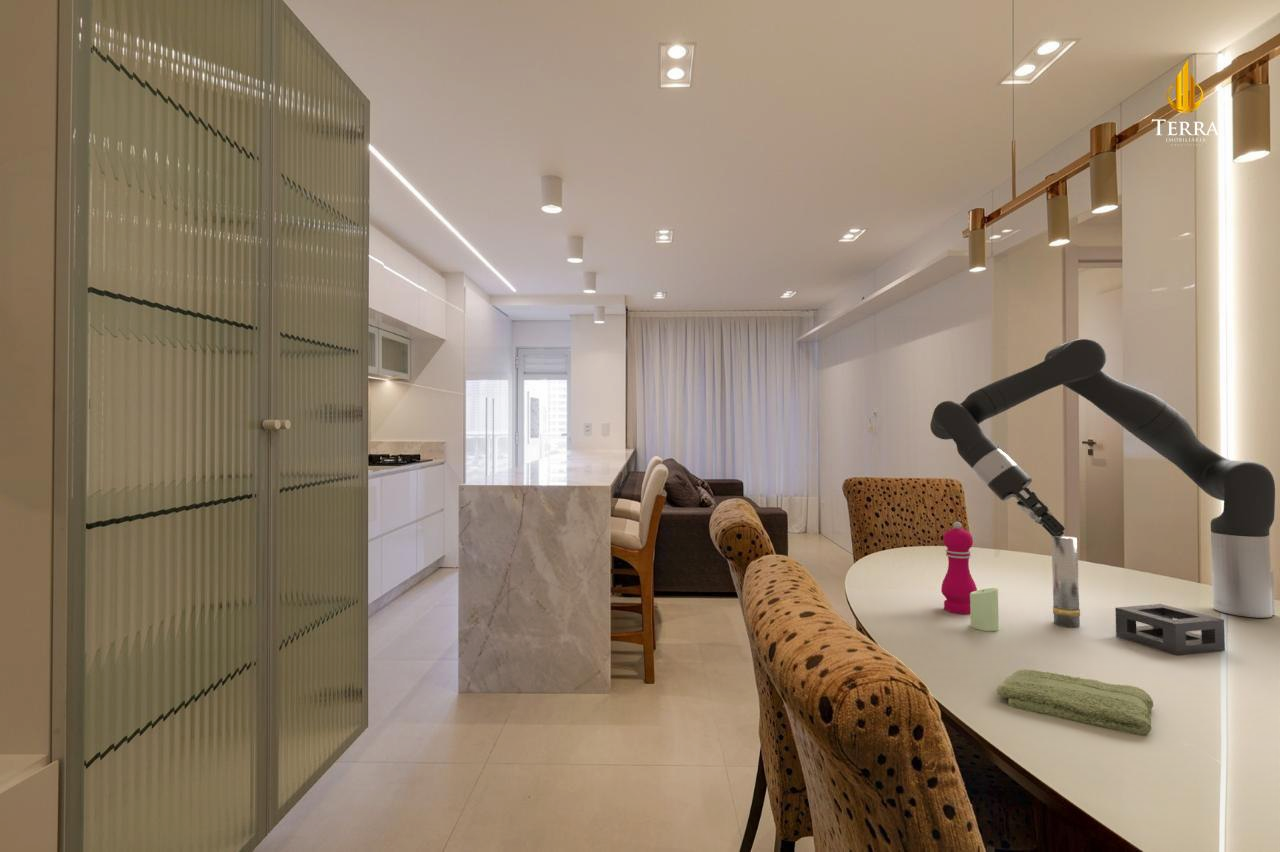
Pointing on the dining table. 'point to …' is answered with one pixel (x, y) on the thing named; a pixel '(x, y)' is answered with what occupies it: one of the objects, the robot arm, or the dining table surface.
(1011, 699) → the washcloth
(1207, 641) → the collar stand
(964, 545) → the pepper mill
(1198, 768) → the dining table surface
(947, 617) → the dining table surface
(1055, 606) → the metal can
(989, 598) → the candle
